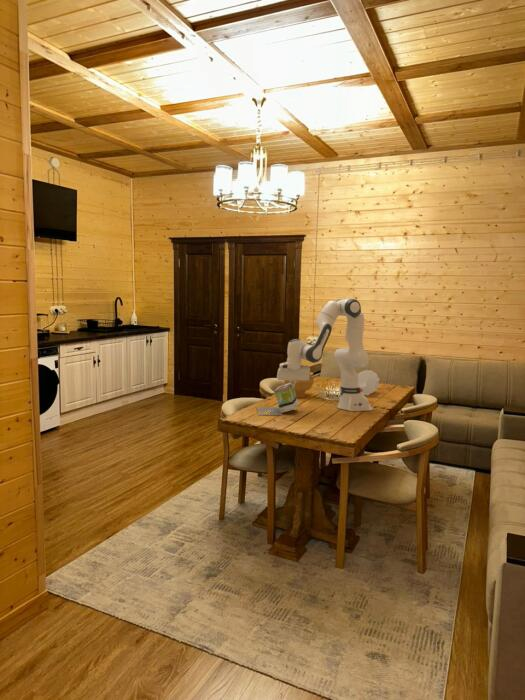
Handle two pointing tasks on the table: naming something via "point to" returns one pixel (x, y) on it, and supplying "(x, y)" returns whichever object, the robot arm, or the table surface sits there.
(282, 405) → the tea box
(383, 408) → the table surface
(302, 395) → the terracotta urn
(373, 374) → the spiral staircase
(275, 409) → the mat
